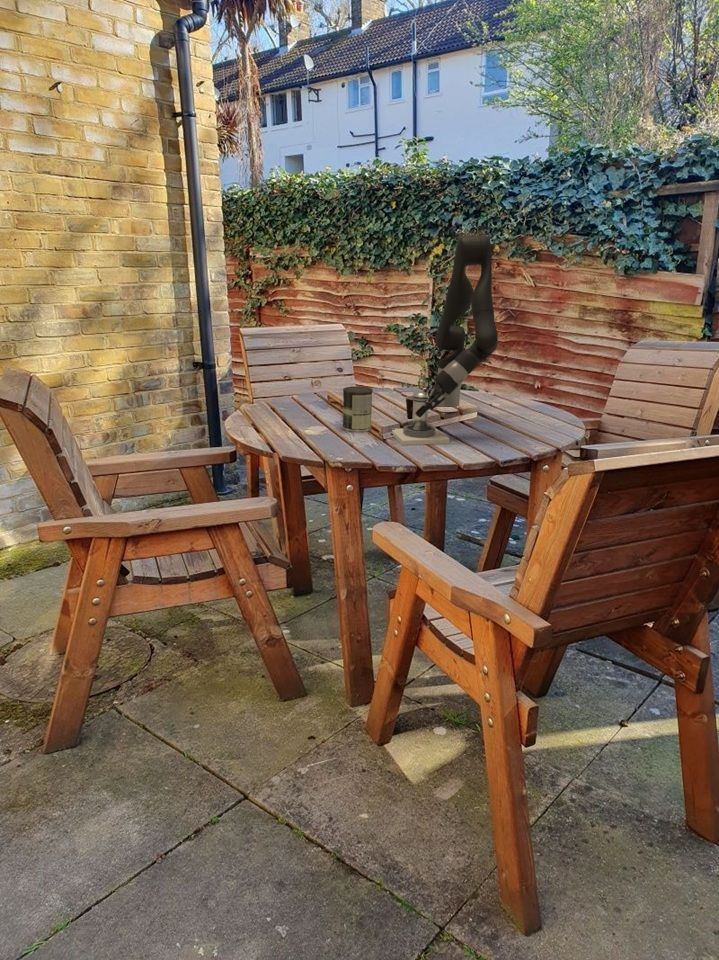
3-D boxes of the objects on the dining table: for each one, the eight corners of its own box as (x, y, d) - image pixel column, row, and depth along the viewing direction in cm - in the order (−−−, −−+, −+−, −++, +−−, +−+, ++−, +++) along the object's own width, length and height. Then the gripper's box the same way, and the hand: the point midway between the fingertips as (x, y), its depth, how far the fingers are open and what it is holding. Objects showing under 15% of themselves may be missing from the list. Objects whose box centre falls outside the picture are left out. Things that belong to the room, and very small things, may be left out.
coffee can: (337, 430, 237) (338, 390, 232) (349, 423, 246) (349, 385, 241) (365, 433, 233) (366, 392, 229) (375, 426, 242) (376, 387, 238)
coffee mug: (416, 429, 240) (417, 401, 237) (399, 424, 247) (400, 397, 244) (439, 424, 248) (440, 397, 244) (422, 420, 254) (423, 393, 251)
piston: (410, 427, 229) (411, 391, 225) (424, 426, 230) (426, 391, 226) (414, 430, 224) (415, 394, 221) (429, 430, 225) (431, 394, 222)
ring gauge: (390, 433, 234) (390, 423, 233) (434, 431, 237) (434, 421, 236) (402, 445, 219) (402, 434, 218) (449, 443, 223) (449, 433, 221)
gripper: (437, 366, 229) (401, 401, 231) (451, 372, 216) (413, 410, 217) (451, 381, 232) (415, 416, 233) (465, 388, 219) (428, 426, 220)
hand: (415, 413), depth 225 cm, fingers closed on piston, 5 cm apart
